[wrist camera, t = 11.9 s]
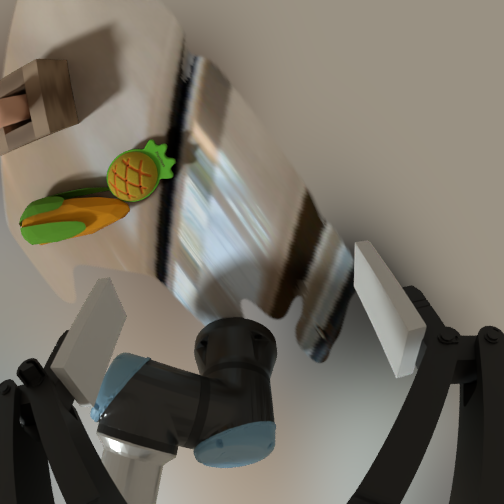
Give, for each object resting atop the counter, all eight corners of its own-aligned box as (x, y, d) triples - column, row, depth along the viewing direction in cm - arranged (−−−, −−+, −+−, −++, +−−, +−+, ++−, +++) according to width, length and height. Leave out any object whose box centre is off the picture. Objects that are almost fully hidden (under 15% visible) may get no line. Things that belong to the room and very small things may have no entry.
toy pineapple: (105, 164, 41) (89, 175, 36) (162, 127, 39) (151, 133, 34) (130, 203, 44) (118, 218, 39) (187, 169, 42) (180, 181, 37)
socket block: (78, 123, 37) (50, 133, 30) (28, 143, 38) (-3, 156, 31) (66, 60, 33) (36, 59, 26) (16, 85, 33) (-16, 90, 26)
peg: (57, 109, 36) (7, 123, 26) (39, 117, 36) (-11, 133, 26) (52, 87, 34) (1, 95, 24) (34, 96, 34) (-17, 107, 24)
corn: (1, 218, 36) (111, 191, 35) (26, 196, 42) (130, 170, 41) (19, 259, 40) (128, 244, 39) (41, 234, 46) (142, 216, 46)
